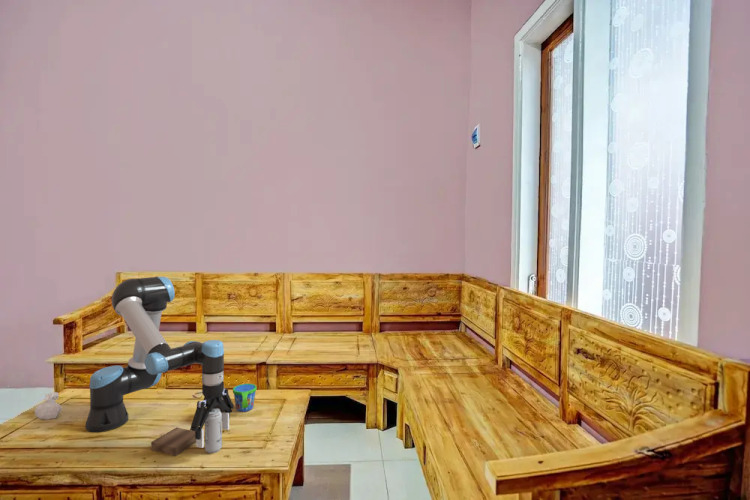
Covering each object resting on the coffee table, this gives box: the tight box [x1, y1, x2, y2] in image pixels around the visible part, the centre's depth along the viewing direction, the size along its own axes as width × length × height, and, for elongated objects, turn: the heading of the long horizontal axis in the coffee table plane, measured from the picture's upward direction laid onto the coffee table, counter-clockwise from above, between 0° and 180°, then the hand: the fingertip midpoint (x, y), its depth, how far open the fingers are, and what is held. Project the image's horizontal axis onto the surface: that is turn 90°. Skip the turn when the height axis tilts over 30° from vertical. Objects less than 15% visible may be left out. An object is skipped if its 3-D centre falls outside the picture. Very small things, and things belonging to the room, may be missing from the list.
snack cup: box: [232, 383, 257, 413], centre depth 182 cm, size 16×10×10 cm
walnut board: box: [150, 427, 196, 457], centre depth 151 cm, size 12×12×3 cm
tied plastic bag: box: [34, 391, 63, 420], centre depth 173 cm, size 12×8×11 cm
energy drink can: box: [204, 408, 223, 454], centre depth 147 cm, size 6×6×15 cm
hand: (213, 437), depth 147 cm, fingers open, 13 cm apart
